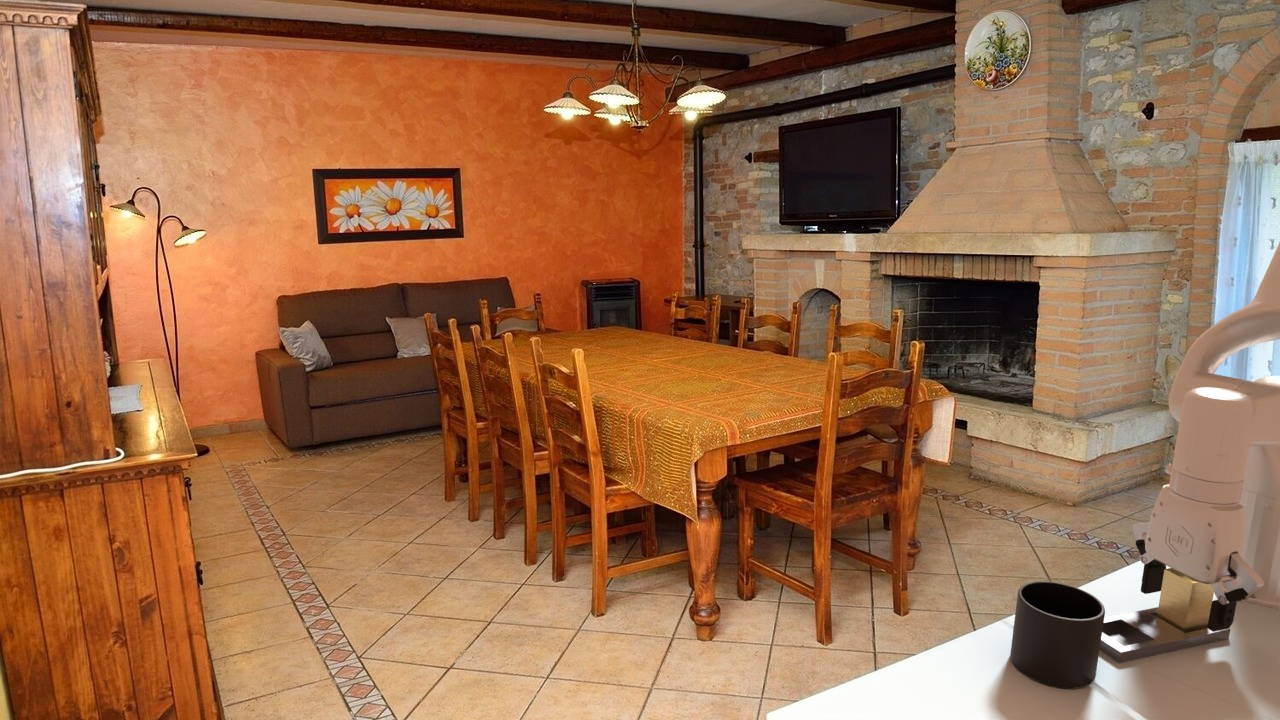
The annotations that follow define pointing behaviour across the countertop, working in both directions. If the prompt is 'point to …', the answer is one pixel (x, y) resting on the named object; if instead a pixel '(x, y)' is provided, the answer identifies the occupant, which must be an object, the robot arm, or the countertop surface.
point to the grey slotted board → (1149, 636)
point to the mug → (1057, 634)
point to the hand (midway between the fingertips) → (1183, 609)
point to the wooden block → (1184, 602)
